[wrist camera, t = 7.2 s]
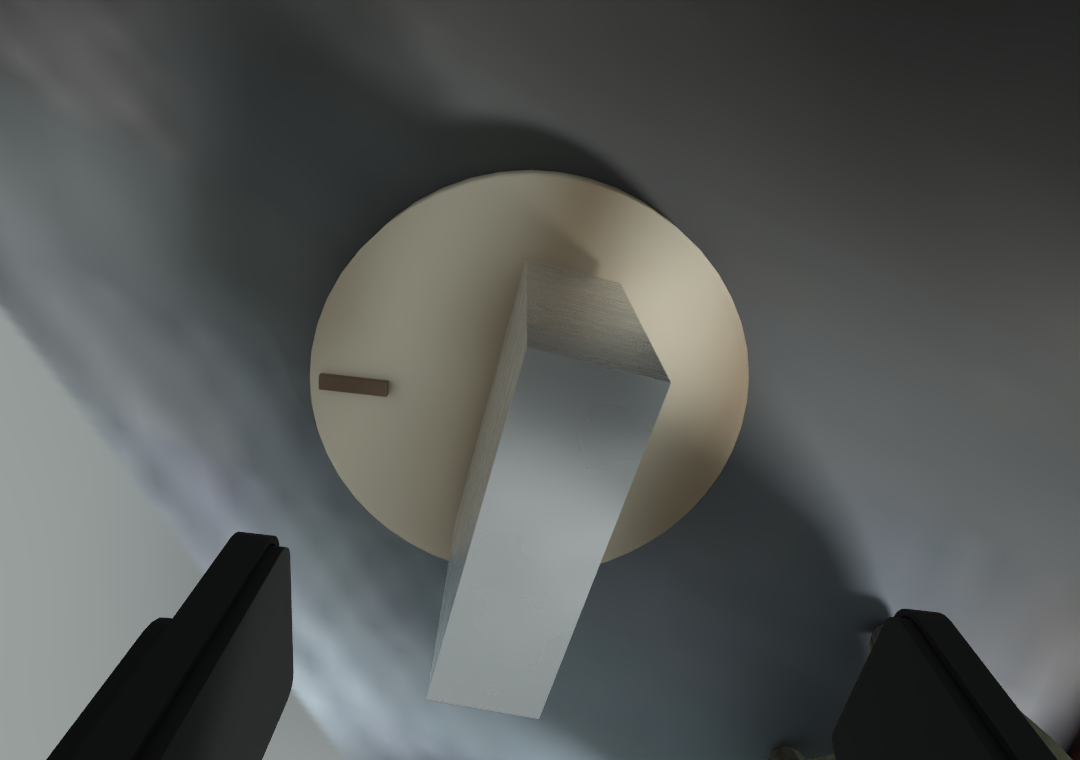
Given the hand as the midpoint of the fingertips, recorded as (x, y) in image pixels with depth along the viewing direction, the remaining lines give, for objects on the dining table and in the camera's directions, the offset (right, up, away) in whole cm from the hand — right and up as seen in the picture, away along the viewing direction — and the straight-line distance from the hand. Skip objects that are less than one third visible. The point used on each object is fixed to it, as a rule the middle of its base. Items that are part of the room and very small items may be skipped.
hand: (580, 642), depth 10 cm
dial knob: (-1, +3, +7) cm, 8 cm away
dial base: (-1, +4, +9) cm, 10 cm away
